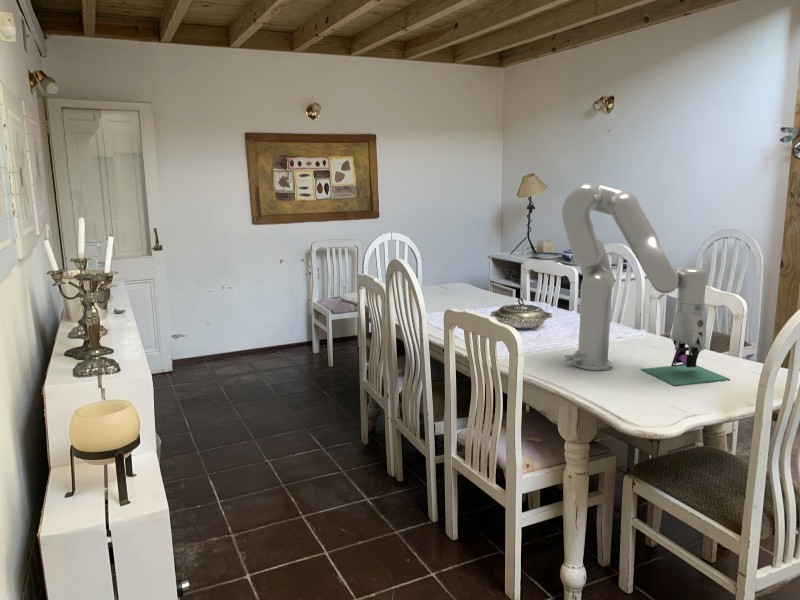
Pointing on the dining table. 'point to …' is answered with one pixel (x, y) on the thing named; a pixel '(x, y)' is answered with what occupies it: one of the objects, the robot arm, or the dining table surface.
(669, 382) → the mat
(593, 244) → the robot arm
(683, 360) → the black open frame
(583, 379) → the dining table surface
